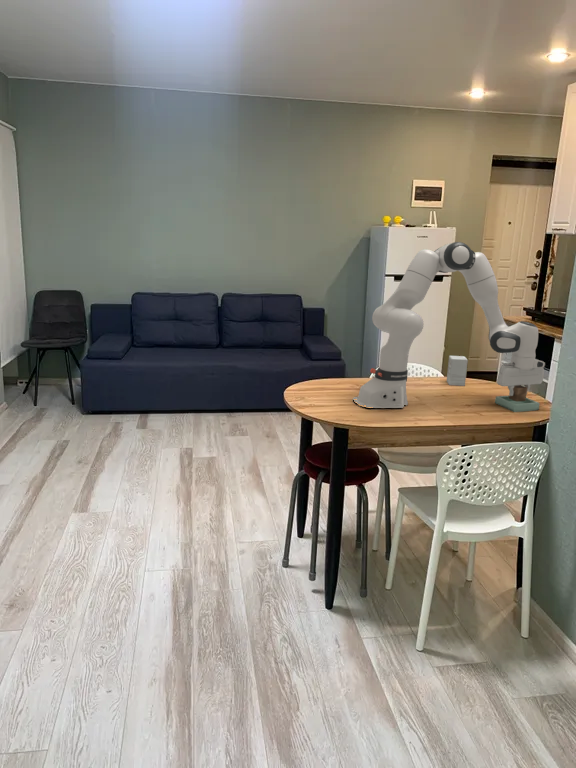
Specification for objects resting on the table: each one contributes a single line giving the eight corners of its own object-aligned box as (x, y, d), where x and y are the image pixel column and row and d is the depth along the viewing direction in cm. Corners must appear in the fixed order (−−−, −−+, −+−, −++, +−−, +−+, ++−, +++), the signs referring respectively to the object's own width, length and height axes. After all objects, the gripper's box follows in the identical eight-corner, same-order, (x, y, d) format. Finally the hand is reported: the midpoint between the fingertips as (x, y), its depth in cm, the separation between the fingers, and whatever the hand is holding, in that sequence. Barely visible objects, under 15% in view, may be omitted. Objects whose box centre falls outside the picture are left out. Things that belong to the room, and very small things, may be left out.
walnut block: (516, 401, 234) (518, 388, 233) (509, 398, 238) (510, 385, 237) (525, 400, 236) (527, 387, 234) (518, 397, 240) (519, 384, 238)
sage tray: (514, 412, 230) (515, 405, 230) (494, 403, 241) (495, 396, 240) (538, 410, 234) (539, 403, 233) (518, 401, 245) (519, 394, 244)
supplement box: (462, 382, 273) (465, 356, 270) (465, 386, 266) (468, 359, 263) (446, 381, 274) (448, 355, 271) (448, 385, 267) (451, 358, 263)
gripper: (506, 365, 227) (501, 399, 230) (548, 362, 233) (543, 395, 237) (496, 361, 232) (491, 394, 236) (537, 359, 239) (532, 391, 243)
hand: (517, 395), depth 237 cm, fingers closed on walnut block, 4 cm apart
